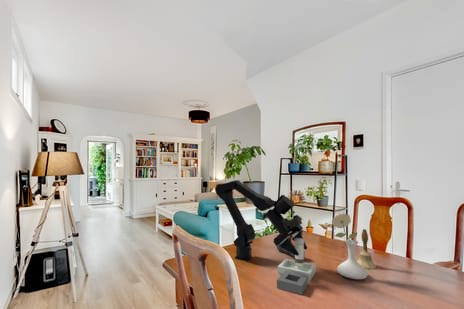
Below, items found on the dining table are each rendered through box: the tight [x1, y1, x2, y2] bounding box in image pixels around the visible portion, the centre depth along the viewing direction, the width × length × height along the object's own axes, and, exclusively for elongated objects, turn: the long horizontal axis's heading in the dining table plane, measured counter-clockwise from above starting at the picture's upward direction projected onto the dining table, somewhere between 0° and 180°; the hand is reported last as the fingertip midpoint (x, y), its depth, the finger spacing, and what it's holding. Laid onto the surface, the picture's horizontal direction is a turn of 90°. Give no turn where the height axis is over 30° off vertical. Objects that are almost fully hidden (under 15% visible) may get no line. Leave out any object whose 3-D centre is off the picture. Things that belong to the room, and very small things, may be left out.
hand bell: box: [356, 228, 377, 270], centre depth 111 cm, size 8×8×16 cm
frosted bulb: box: [294, 237, 305, 271], centre depth 102 cm, size 4×4×13 cm
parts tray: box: [277, 258, 317, 283], centre depth 103 cm, size 13×10×3 cm
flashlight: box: [276, 245, 306, 259], centre depth 123 cm, size 15×5×5 cm, turn 30°
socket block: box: [276, 271, 309, 296], centre depth 91 cm, size 9×9×3 cm
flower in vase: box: [331, 212, 369, 280], centre depth 101 cm, size 13×11×25 cm
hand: (302, 251), depth 102 cm, fingers open, 9 cm apart
